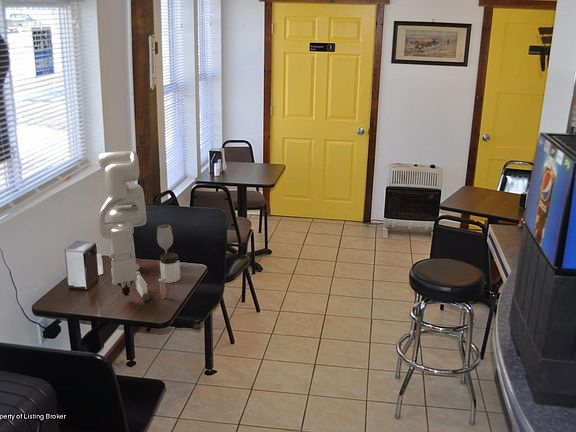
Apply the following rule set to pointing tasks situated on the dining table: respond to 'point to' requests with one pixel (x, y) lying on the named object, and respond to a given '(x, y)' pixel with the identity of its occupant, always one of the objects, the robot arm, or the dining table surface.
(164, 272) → the jar
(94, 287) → the dining table surface
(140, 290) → the gate
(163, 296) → the end post
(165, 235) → the wineglass
